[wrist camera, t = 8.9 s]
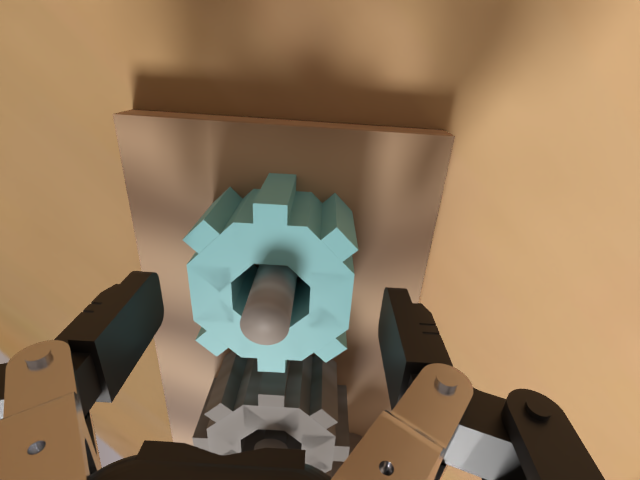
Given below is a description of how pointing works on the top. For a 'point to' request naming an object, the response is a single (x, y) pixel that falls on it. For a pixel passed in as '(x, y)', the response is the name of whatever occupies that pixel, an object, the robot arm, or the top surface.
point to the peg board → (320, 167)
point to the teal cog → (273, 249)
